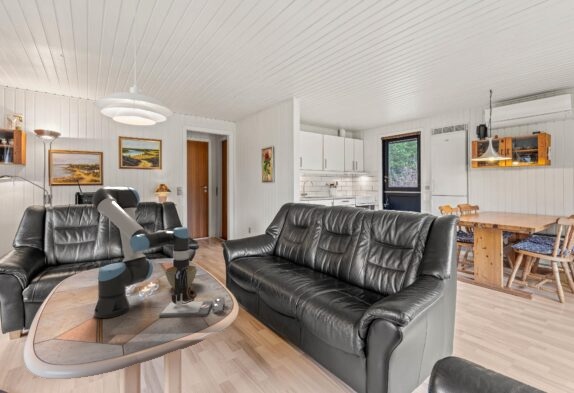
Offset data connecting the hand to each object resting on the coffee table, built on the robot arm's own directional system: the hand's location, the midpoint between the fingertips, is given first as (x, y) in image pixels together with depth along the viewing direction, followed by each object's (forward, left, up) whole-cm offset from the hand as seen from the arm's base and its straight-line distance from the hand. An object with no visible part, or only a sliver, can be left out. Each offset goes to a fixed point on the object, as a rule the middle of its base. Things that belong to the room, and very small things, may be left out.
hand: (181, 304), depth 139 cm
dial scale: (+3, 0, -3) cm, 4 cm away
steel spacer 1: (+19, +3, -3) cm, 19 cm away
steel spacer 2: (+19, -3, -3) cm, 19 cm away
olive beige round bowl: (-10, +33, -3) cm, 35 cm away
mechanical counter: (+1, 0, -1) cm, 1 cm away
